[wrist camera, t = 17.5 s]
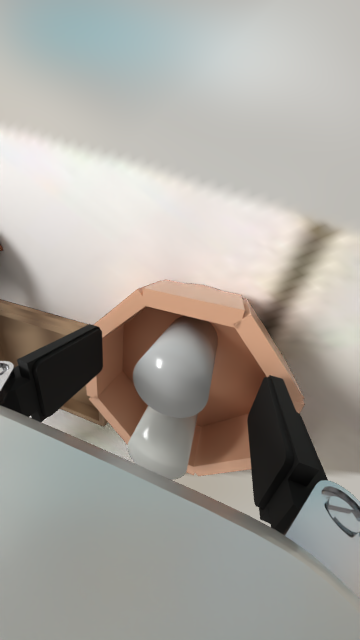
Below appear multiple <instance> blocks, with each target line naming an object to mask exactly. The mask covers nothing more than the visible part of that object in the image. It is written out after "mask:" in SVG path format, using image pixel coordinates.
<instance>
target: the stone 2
mask: <svg viewBox="0 0 360 640" xmlns="http://www.w3.org/2000/svg"><path fill="white" fill-rule="evenodd" d="M197 416H198V414H196V415H194V416H191V417H186V418H175V417H170V416H166V415H163V414H161V413H159V412H157V411H155V410H154V409H152V408H151V407H150V406H148V407H147V409H146V411H145V412H144V414H143V416H142V418H141V420H140V422H139V424H138V425H137V427H136V429H135V431H134V433H133V435H132V437H131V438H130V440H129V442H128V452H129V455H130V457H131V458H132V460H133V461H134V462H135V463H136V464H137V465H139V466H141V467H144V468H146V469H148V470H150V471H152V472H155V473H157V474H159V475H161V476H164V477H166V478H168V479H170V480H173V479H178V478H180V477H182V476H183V475H184V474H185V473H186V471H187V466H188V461H189V456H190V451H191V446H192V441H193V436H194V431H195V426H196V421H197Z"/></svg>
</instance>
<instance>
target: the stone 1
mask: <svg viewBox="0 0 360 640" xmlns="http://www.w3.org/2000/svg"><path fill="white" fill-rule="evenodd" d="M217 345H218V336H217V332H216V330H215V328H214V327H213V326H212V324H211V323H210V322H208V321H205V320H201V319H197V318H193V317H189V316H185V315H184V316H181V317H179V318H177V319H176V320H175V321H174V322H173V323H172V324H171V325H170V326H169V327H168V328H167V329H166V331H165V332H164V333H163V334H162V335H161V336H160V337H159V338H158V340H157V341H156V342H155V343H154V344H153V345H152V346H151V348H150V349H149V350H148V351H147V352H146V353H145V354H144V355H143V357H142V358H141V359H140V360H139V361H138V362H137V364H136V366H135V368H134V371H133V381H134V385H135V388H136V391H137V392H138V394H139V396H140V397H141V399H142V400H143V401H144V402H145V403H146V404H147V405H148V406H150V407H151V408H152V409H154V410H155V411H157V412H159V413H161V414H163V415H166V416H170V417H175V418H186V417H191V416H194V415H196V414H198V413H199V412H200V411H202V410H203V408H204V407H205V406H206V404H207V401H208V397H209V392H210V386H211V380H212V374H213V368H214V363H215V357H216V351H217Z"/></svg>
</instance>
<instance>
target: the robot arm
mask: <svg viewBox="0 0 360 640" xmlns="http://www.w3.org/2000/svg"><path fill="white" fill-rule="evenodd" d="M17 362H18V366H16V367H15V368H14V365H13V363H11V362H8V361H0V640H360V502H359V501H358V500H357V499H356V498H355V497H354V496H353V495H352V494H351V493H350V492H349V491H347V490H346V489H344V488H343V487H342V486H340V485H338V484H336V483H334V482H331V481H328V479H327V477H326V475H325V472H324V470H323V467H322V465H321V463H320V460H319V458H318V456H317V453H316V451H315V448H314V446H313V444H312V441H311V439H310V437H309V434H308V432H307V429H306V427H305V425H304V422H303V420H302V418H301V416H300V414H299V413H298V412H296V410H295V407H294V405H293V402H292V400H291V397H290V395H289V392H288V390H287V387H286V385H285V382H284V380H283V379H282V378H278V377H275V376H271V375H269V376H268V377H264V379H263V381H262V383H261V386H260V388H259V390H258V393H257V395H256V398H255V400H254V402H253V405H252V407H251V410H250V412H249V414H248V419H247V424H248V435H249V447H250V458H251V470H252V481H253V491H254V492H253V493H254V502H255V505H256V506H258V507H259V511H260V519H261V520H264V521H266V522H268V523H270V524H271V527H269V526H267V525H265V524H263V523H261V522H260V521H258V520H256V519H254V518H252V517H250V516H248V515H246V514H244V513H242V512H240V511H237V510H235V509H233V508H231V507H229V506H227V505H225V504H223V503H221V502H219V501H216V500H214V499H212V498H210V497H208V496H206V495H203V494H201V493H199V492H197V491H195V490H193V489H190V488H188V487H186V486H184V485H182V484H179V483H177V482H175V481H172V480H170V479H168V478H166V477H164V476H161V475H159V474H157V473H155V472H152V471H150V470H148V469H146V468H144V467H141V466H139V465H137V464H135V463H132V462H130V461H128V460H126V459H123V458H121V457H119V456H117V455H114V454H112V453H110V452H107V451H105V450H103V449H101V448H98V447H96V446H94V445H92V444H89V443H87V442H85V441H82V440H80V439H78V438H76V437H73V436H71V435H69V434H67V433H64V432H62V431H60V430H57V429H55V428H53V427H50V426H48V425H46V424H43V423H41V422H42V421H43V420H44V419H45V418H47V417H49V416H51V415H53V414H54V413H55V412H56V411H57V410H58V409H59V408H61V407H62V406H63V405H64V404H65V403H66V402H67V401H68V400H70V399H71V398H72V397H73V396H74V395H75V394H76V393H77V392H79V391H80V390H81V389H82V388H83V387H84V386H85V385H86V384H87V383H89V382H90V381H91V380H92V379H93V378H94V377H95V376H96V375H98V374H99V373H100V372H101V370H102V369H103V346H102V331H101V330H100V327H98V326H94V325H91V324H89V325H86V326H84V327H82V328H80V329H78V330H76V331H74V332H72V333H70V334H68V335H66V336H64V337H62V338H60V339H58V340H56V341H54V342H52V343H50V344H48V345H46V346H43V347H41V348H39V349H37V350H35V351H33V352H31V353H29V354H27V355H25V356H23V357H21V358H19V359H17ZM30 415H31V416H32V418H30V417H29V416H30Z"/></svg>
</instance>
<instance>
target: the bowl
mask: <svg viewBox="0 0 360 640" xmlns="http://www.w3.org/2000/svg"><path fill="white" fill-rule="evenodd" d="M184 315H185V316H189V317H193V318H197V319H201V320H205V321H208V322H210V323H211V324H212V326H213V327H214V328H215V330H216V332H217V336H218V345H217V351H216V357H215V363H214V368H213V374H212V380H211V386H210V392H209V397H208V401H207V404H206V406H205V407H204V408H203V410H202V411H200V412H199V413H198V416H197V421H196V426H195V431H194V436H193V441H192V446H191V451H190V456H189V461H188V466H187V471H186V472H187V473H189V474H192V475H194V473H196V474H197V475H198V476H204V475H211V474H219V473H226V472H234V471H241V470H249V469H251V458H250V447H249V435H248V424H247V419H248V414H249V412H250V410H251V407H252V405H253V402H254V400H255V398H256V395H257V393H258V390H259V388H260V386H261V383H262V381H263V379H264V377H268V376H269V375H271V376H275V377H278V378H282V379H283V380H284V382H285V385H286V387H287V390H288V392H289V395H290V397H291V400H292V402H293V405H294V407H295V410H296V412H298V413H299V414H300V412H301V410H302V408H303V407H304V405H305V404H304V402H303V400H302V399H304V397H303V395H302V393H301V391H300V389H299V387H298V385H297V383H296V380H295V378H294V376H293V374H292V372H291V370H290V368H289V366H288V364H287V362H286V361H285V359H284V357H283V356H282V354H281V353H280V351H279V349H278V348H277V346H276V345H275V343H274V341H273V340H272V338H271V337H270V335H269V333H268V331H267V329H266V327H265V326H264V325H263V323H262V322H261V320H260V319H259V318H258V316H257V314H256V313H255V311H254V310H253V308H252V306H251V305H250V303H249V302H248V300H247V298H246V299H244V300H243V299H242V295H239V294H234V293H229V292H224V291H221V290H218V289H216V288H213V287H209V286H205V285H199V284H192V283H180V282H175V281H170V280H166V279H165V280H163V281H158V282H156V283H153V284H150V285H147V286H145V287H142V288H139V289H137V290H136V291H134V292H133V293H132V294H131V295H129V296H128V297H127V298H126V299H125V300H123V301H122V302H121V303H120V304H118V305H117V306H116V307H115V308H114V309H112V310H111V311H110V312H109V313H107V314H106V315H105V316H104V317H103V318H101V319H100V320H99V321H98V322H96V323H95V324H94V326H98V327H100V330H101V331H102V346H103V369H102V370H101V372H100V373H99V374H98V375H96V376H95V377H94V378H93V379H92V380H91V381H90V382H89V383H87V384H86V390H87V396H90V398H89V400H90V401H91V402H92V404H93V405H94V406H95V407H96V408H97V409H98V411H99V412H100V413H101V414H102V415H103V417H104V418H105V419H106V420H107V421H108V422H109V424H110V425H111V426H112V427H113V428H114V430H115V431H116V432H117V433H118V434H119V435H120V437H121V438H122V439H123V440H124V441H125V442H126V444H127V445H128V442H129V440H130V438H131V437H132V435H133V433H134V431H135V429H136V427H137V425H138V424H139V422H140V420H141V418H142V416H143V414H144V412H145V411H146V409H147V407H148V405H147V404H146V403H145V402H144V401H143V400H142V399H141V397H140V396H139V394H138V392H137V391H136V388H135V385H134V381H133V371H134V368H135V366H136V364H137V362H138V361H139V360H140V359H141V358H142V357H143V355H144V354H145V353H146V352H147V351H148V350H149V349H150V348H151V346H152V345H153V344H154V343H155V342H156V341H157V340H158V338H159V337H160V336H161V335H162V334H163V333H164V332H165V331H166V329H167V328H168V327H169V326H170V325H171V324H172V323H173V322H174V321H175V320H176V319H177V318H179V317H181V316H184Z"/></svg>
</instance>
